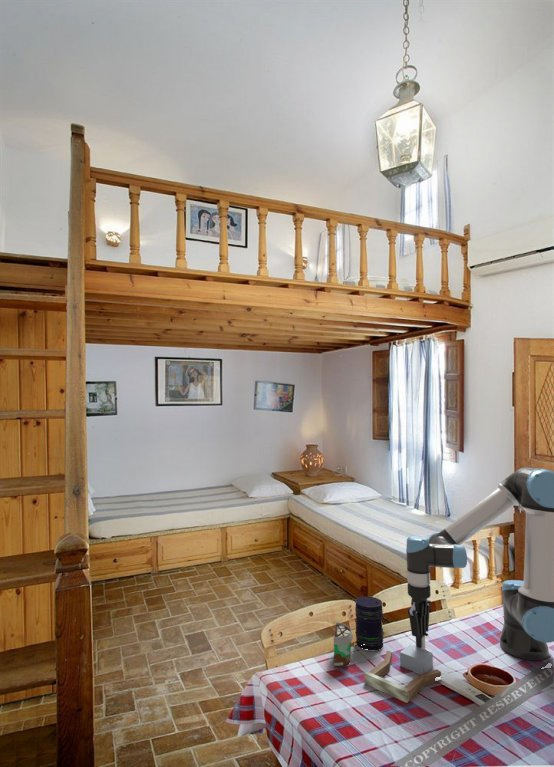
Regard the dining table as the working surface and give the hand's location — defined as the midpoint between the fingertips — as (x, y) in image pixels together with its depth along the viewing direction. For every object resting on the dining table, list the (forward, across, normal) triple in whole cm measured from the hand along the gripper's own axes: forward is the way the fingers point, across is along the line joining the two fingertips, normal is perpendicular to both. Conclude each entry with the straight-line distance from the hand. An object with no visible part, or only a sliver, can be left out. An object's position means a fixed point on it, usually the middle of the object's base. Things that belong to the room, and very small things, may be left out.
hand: (421, 656), depth 147 cm
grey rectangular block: (+2, +4, 0) cm, 5 cm away
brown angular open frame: (+2, +15, 0) cm, 15 cm away
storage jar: (+2, +2, -19) cm, 19 cm away
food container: (+2, +18, -19) cm, 26 cm away
